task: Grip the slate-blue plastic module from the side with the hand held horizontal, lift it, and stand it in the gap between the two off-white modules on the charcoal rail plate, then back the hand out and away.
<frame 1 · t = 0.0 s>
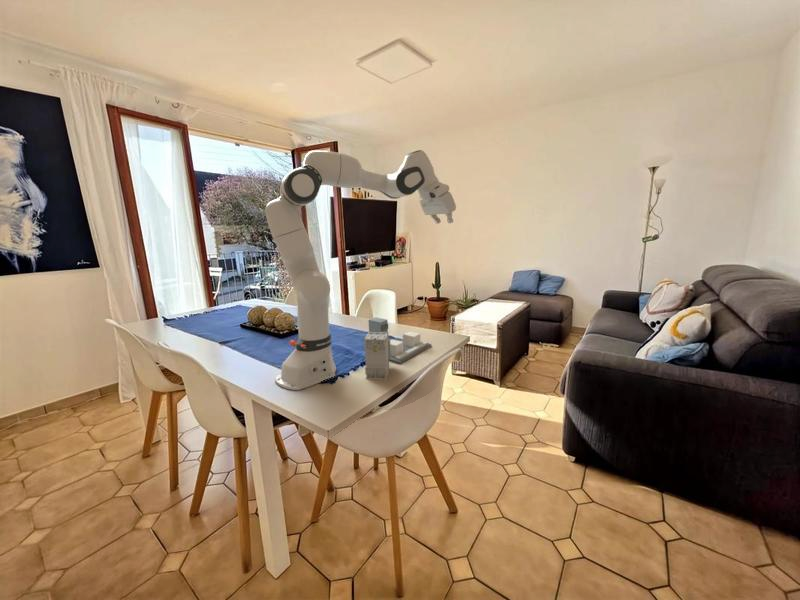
hand: (444, 222, 136), 54 cm above the table, tool tilted 30°, fingers open, 8 cm apart
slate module: (378, 344, 152), on the table
circuit breaker: (379, 370, 125), on the table
rail plate: (403, 351, 144), on the table
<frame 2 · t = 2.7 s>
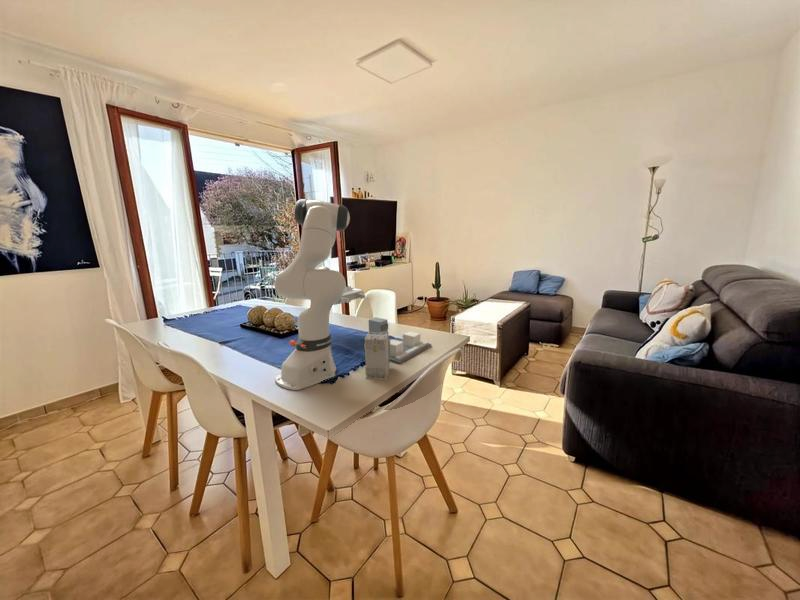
hand: (357, 298, 155), 20 cm above the table, tool horizontal, fingers open, 8 cm apart
nothing on the table moved.
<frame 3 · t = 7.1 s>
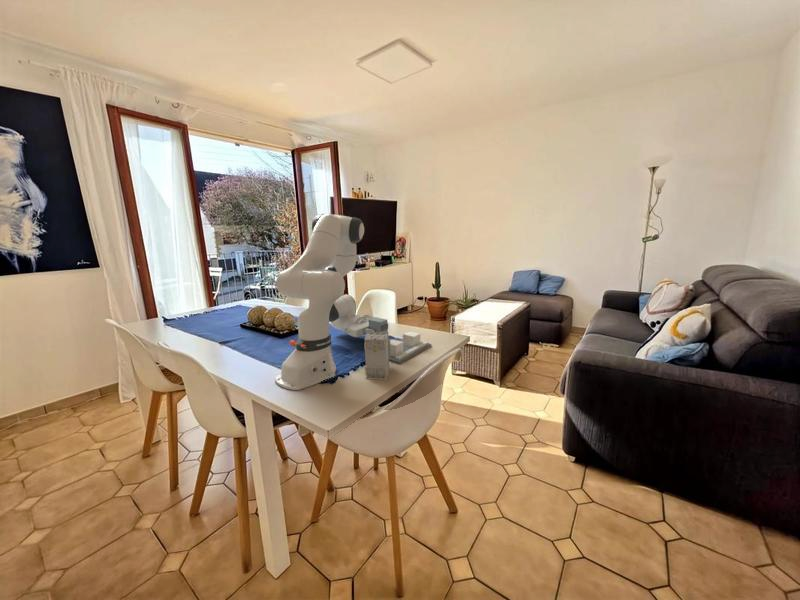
hand: (379, 330, 150), 7 cm above the table, tool horizontal, fingers closed on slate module, 5 cm apart
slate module: (378, 344, 152), on the table, touching gripper
everything else where it was.
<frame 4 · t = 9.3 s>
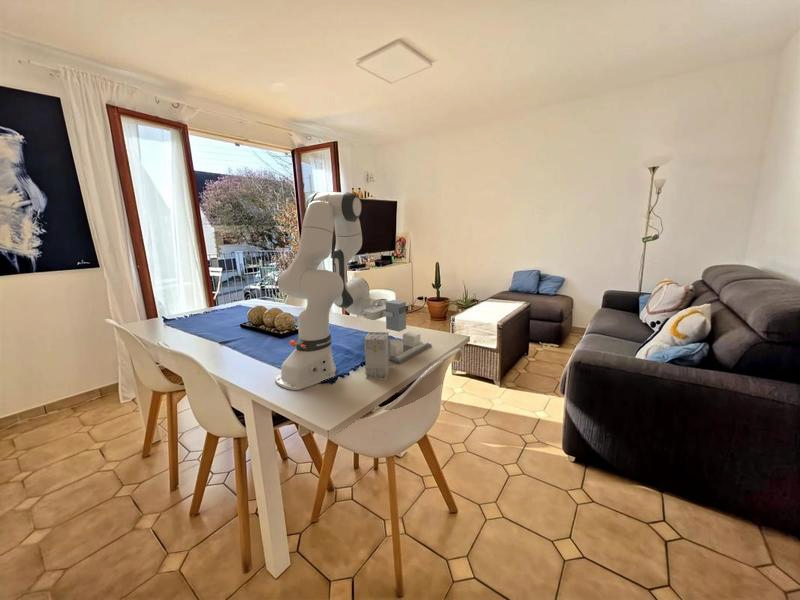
hand: (397, 313, 142), 17 cm above the table, tool horizontal, fingers closed on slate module, 5 cm apart
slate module: (396, 328, 144), point 10 cm above the table, touching gripper
everything else where it was.
when the fingers open (10 cm above the table, at t = 11.7 s): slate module drops 1 cm, resting on rail plate.
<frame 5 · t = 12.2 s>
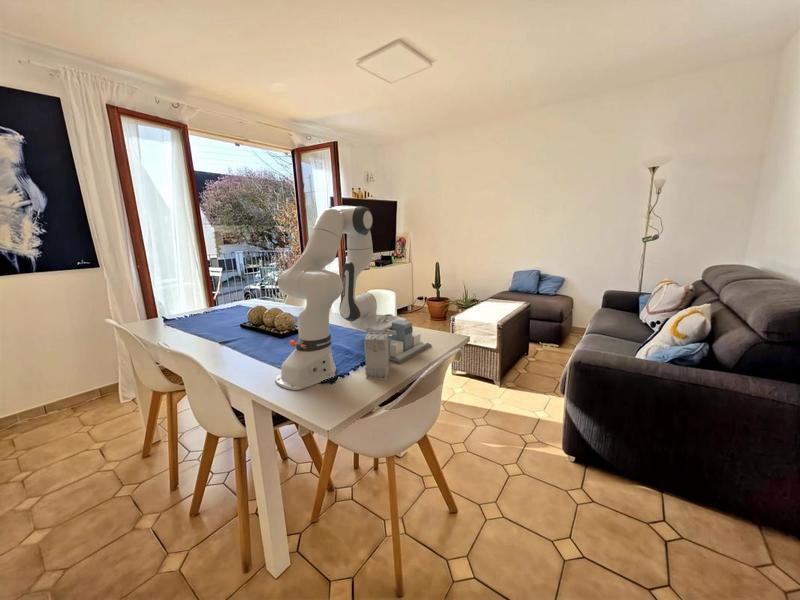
hand: (403, 330, 141), 10 cm above the table, tool horizontal, fingers open, 8 cm apart
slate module: (402, 348, 144), point 1 cm above the table, touching rail plate
everything else where it was.
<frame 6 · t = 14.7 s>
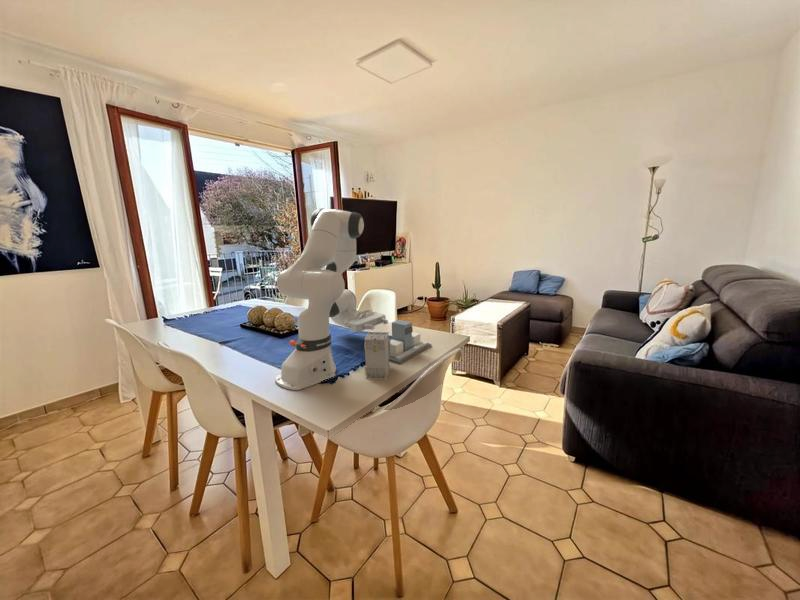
hand: (380, 324, 149), 10 cm above the table, tool horizontal, fingers open, 8 cm apart
nothing on the table moved.
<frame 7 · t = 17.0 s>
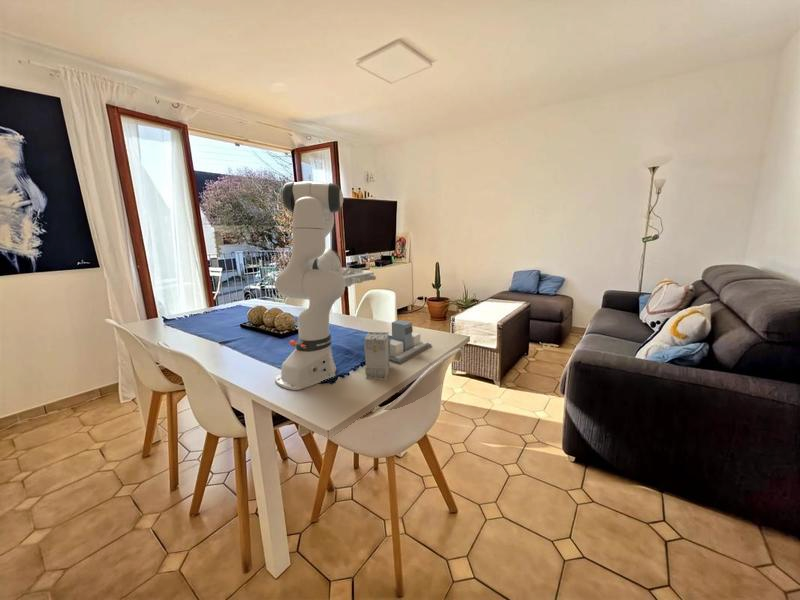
hand: (368, 279, 148), 30 cm above the table, tool horizontal, fingers open, 8 cm apart
nothing on the table moved.
at the end: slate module 0.3 cm off-centre on the rail plate, point 1.0 cm above the rail plate's base; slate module tilted 0°; the gripper is holding nothing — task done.
